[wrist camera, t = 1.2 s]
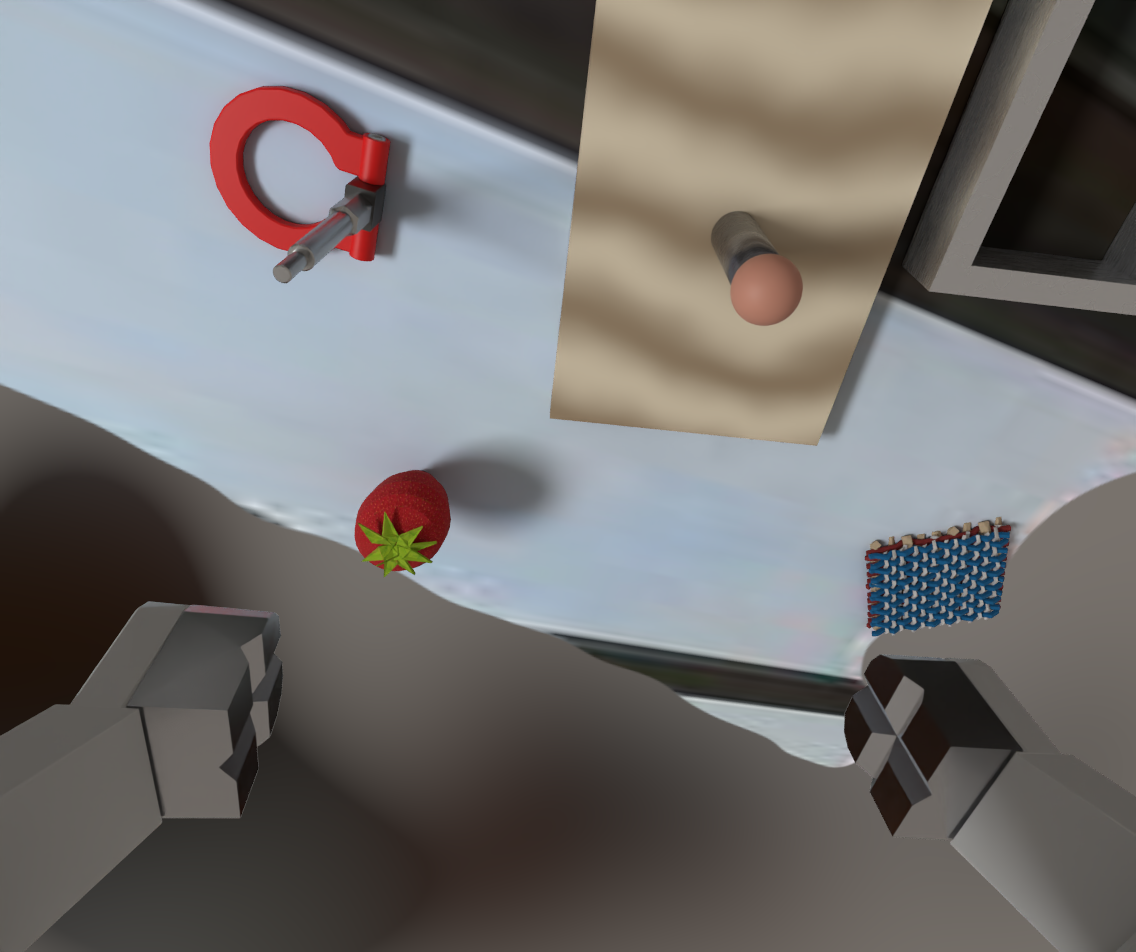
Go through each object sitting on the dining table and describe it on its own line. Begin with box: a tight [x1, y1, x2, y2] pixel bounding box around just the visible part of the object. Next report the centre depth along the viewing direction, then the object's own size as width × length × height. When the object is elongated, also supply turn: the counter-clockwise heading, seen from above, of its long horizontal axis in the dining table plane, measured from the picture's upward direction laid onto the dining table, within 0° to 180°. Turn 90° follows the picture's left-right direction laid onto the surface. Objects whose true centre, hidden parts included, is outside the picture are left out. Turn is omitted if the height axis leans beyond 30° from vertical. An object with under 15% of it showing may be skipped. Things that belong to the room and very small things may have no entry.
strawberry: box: [355, 470, 451, 577], centre depth 46 cm, size 6×8×10 cm
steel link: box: [902, 0, 1136, 315], centre depth 34 cm, size 18×13×4 cm
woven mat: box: [865, 517, 1011, 636], centre depth 55 cm, size 10×11×2 cm
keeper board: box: [550, 0, 993, 446], centre depth 35 cm, size 26×18×11 cm
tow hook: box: [210, 86, 390, 283], centre depth 33 cm, size 8×13×9 cm
